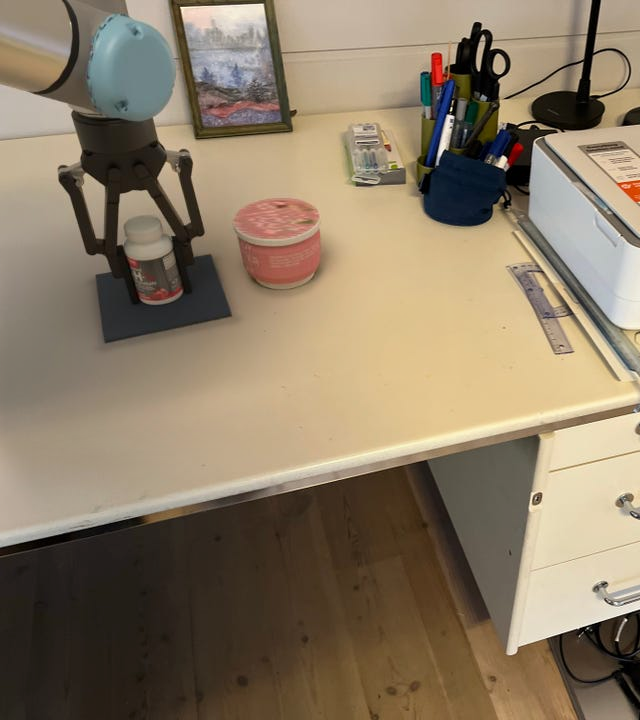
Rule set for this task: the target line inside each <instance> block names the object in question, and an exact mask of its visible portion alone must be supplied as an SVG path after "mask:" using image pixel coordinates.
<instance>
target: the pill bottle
mask: <svg viewBox="0 0 640 720" xmlns="http://www.w3.org/2000/svg"><path fill="white" fill-rule="evenodd" d="M123 231H124V235H125V237H126V240H124V243H123V247H124V253H125V256H126V260H127V263H128V266H129V270H130V273H131V276H132V279H133V283H134V286H135V290H136V293H137V296H138V298H139V299H140V300H141V301H142V302H144V303H146V304H150V305H162V304H167V303H170V302H173V301H175V300H177V299H178V298H179V297H180V296H181V295H182V293H183V291H184V286H183V281H182V277H181V274H180V270H179V265H178V261H177V257H176V253H175V249H174V245H173V241H172V238H171V236H170V235H169V234H167V233H165V232H164V229H163V224H162V221H161V219H160V218H159V217H157V216H154V215H149V214H145V215H143V214H142V215H137V216H133V217H131V218H129V219H127V220H126V221H125V222H124V224H123Z"/></svg>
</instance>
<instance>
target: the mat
mask: <svg viewBox="0 0 640 720" xmlns="http://www.w3.org/2000/svg"><path fill="white" fill-rule="evenodd" d="M194 259H195V262H194V265H189V266H186V269H187V273H188V277H189V281H190V285H191V290H192V292H191V293H185V289H184V291H183V293H182V295H181V296H180V297H179V298H178V299H177V300H175V301H173V302H170V303H167V304H162V305H150V304H146V303H144V302H142V301H141V300H140V299H139V298H138V301H139V303H135V304H132V302H131V299H130V296H129V292H128V289H127V286H126V283H125V279H124V278H119V279H115V278H114V277H113V276H112V273H111V271H109V272H108V271H107V272H102V273H97V274H95V281H96V289H97V290H96V291H97V297H98V298H97V299H98V304H99V312H100V319H101V327H102V328H101V329H102V335H103V342H104V343H105V344H106V343H111V342H117V341H120V340H125V339H129V338H136V337H139V336H143V335H150V334H154V333H158V332H164V331H168V330H172V329H178V328H182V327H186V326H190V325H196V324H201V323H206V322H210V321H216V320H221V319H224V318H225V319H226V318H230V317H232V315H233V314H232V312H231V308H230V305H229V303H228V300H227V297H226V293H225V291H224V288H223V285H222V283H221V280H220V277H219V273H218V270H217V267H216V265H215V262H214V258H213V255H212V254H211V253H209V254H203V255H198V256H196V255H195V256H194ZM183 286H184V285H183Z"/></svg>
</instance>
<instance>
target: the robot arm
mask: <svg viewBox="0 0 640 720" xmlns="http://www.w3.org/2000/svg"><path fill="white" fill-rule="evenodd" d="M176 79H177V66H176V61H175V56H174V54H173V51H172V48H171V46H170V44H169V42H168V40H167V39H166V38H165V37H164V35H162V33H161V32H160V31H158V29H157V28H155V27H154V26H153V25H151V24H149V23H146V22H143V21H140V20H137V19H134V18H132V17H131V16H130V15H129V11H128V7H127V2H126V0H0V85H2V86H5V87H9V88H13V89H16V90H18V91H19V90H20V91H23V92H27V93H30V94H33V95H35V96H39V97H42V98H46V99H48V100H49V99H50V100H53V101H57V102H61V103H64V104H66V105H67V106H68V107H69V108H70V109H71V110H72V111H71V112H70V117H71V119H72V122H73V126H74V129H75V132H76V136H77V138H78V143H79V146H80V149H81V153H80V154H81V155H80V157H79V158H80V159H79V161H78V162H75V163H73V164H71V165H67V164H61V165H59V166H58V167H57V179H58V183H59V184H60V186H61V187H62V188H63V189H64V190H65V192H66V193H67V195H68V196H69V199H70V202H71V205H72V209H73V212H74V216H75V219H76V223H77V226H78V229H79V233H80V236H81V239H82V243H83V246H84V250H85V252H86V254H87V255H88V256H96V255H102V256H104V257H105V258H106V260H107V263H108V266H109V269H110V272H111V273H112V276H113V277H114V278H115V279H119V278H124V279H125V283H126V286H127V289H128V292H129V296H130V299H131V302H132V304H135V303H139V301H138V296H137V293H136V290H135V286H134V283H133V279H132V276H131V273H130V270H129V266H128V263H127V260H126V256H125V253H124V244H118V235H119V233H118V232H119V213H120V211H119V210H120V202H121V195H122V194H127V193H129V192H132V191H136V192H137V191H138V192H143V191H146V192H147V193H148V195H149V196H150V198H151V199H152V200H153V201H154V203H155V205H156V206H157V208H158V210H159V212H160V213H161V214H162V216H163V217H164V219H165V221H166V222H167V224H168V225H169V227H170V229H171V231H172V233H174V235H171V236H170V238H171V239H172V241H173V245H174V249H175V253H176V257H177V261H178V265H179V270H180V274H181V277H182V281H183V285H184V289H185V293H191V292H192V290H191V285H190V281H189V277H188V273H187V269H186V266H189V265H194V262H195V259H194V257H195V255H194V251H193V247H192V240H194V239H195V238H201V237H204V235H205V234H206V230H205V226H204V222H203V219H202V215H201V211H200V207H199V203H198V200H197V196H196V191H195V187H194V183H193V180H192V175H193V168H194V161H193V159H192V156H191V153H190V151H189V150H188V149H187V148H181V149H179V151H177V150H168V149H166V148H165V146H164V145H163V144H162V143H161V142H160V140H159V137H158V133H157V128H156V124H155V121H154V117H156V116H158V115H159V114H160V113H161V112H162V111H163V110H164V109H165V108H166V106H168V103H169V102H170V100H171V98H172V96H173V94H174V87H175V81H176ZM166 163H168V164H169V165H170V167H171V170H172V171H173V172H174V173H176V174H177V177H178V180H179V184H180V188H181V191H182V192H181V193H182V196H183V199H184V202H185V203H184V204H185V207H186V210H187V214H188V217H189V222H188V223H187V224H185V223H184V221H183V220H182V218H181V216H180V215H179V213H178V211H177V210H176V208H175V206H174V205H173V203H172V201H171V200H170V198H169V197H168V195H167V193H166V191H165V190H164V188H163V186H162V184H161V183H160V181H159V176H160V174H161V172H162V170H163V168H164V166H165V165H166ZM85 174H88V175H89V176H90V177H91V178H92V179H94V180H95V181H97V183H99V184H101V185H102V186H103V187H104V207H103V208H104V210H103V212H104V213H103V237H102V238H97V237H96V233H95V230H94V226H93V223H92V219H91V215H90V212H89V208H88V204H87V200H86V197H85V194H84V190H83V186H84V185H85V177H84V175H85Z"/></svg>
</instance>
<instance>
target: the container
mask: <svg viewBox="0 0 640 720" xmlns="http://www.w3.org/2000/svg"><path fill="white" fill-rule="evenodd" d="M321 217H322V216H321V212H320V210H319V209H318V208H317V207H316V206H315V205H313V204H312V203H310V202H307V201H306V200H302V199H299V198H293V197H271V198H270V197H269V198H264V199H260V200H256V201H253V202H251V203H249V204H247V205H244V206H243V207H241V208H240V209H239V210H237V212H236V213H235V214H234V216H233V218H232V227H233V231H234V233H235V234H236V237H237V242H238V245H239V250H240V254H241V258H242V262H243V265H244V268H246V270H247V271H248V273H249V274H250V276H251V277H253V279H255V280H256V282H257V283H258V284H259V285H260V286H263V287H265V288H269V289H273V290H289V289H294V288H298V287H301V286H303V285H305V284H307V283H308V282H309V281H310V280H311V279H312V278H313V277H314V275H315V272H316V271H317V270H318V267H319V265H320V262H321V258H322V246H321V224H322V219H321Z"/></svg>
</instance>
